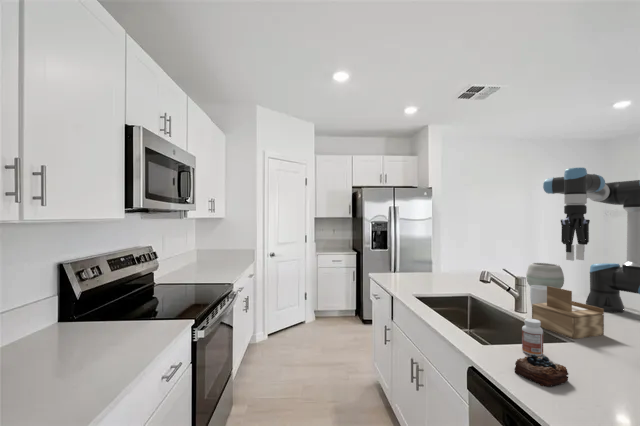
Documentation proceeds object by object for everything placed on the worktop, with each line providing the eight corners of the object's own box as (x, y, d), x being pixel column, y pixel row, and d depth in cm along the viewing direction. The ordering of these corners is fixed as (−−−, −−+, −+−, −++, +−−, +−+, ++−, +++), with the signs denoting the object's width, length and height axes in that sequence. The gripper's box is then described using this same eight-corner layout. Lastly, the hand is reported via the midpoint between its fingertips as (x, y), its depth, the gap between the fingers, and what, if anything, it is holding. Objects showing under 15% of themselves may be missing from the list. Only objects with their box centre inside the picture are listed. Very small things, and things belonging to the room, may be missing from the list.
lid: (559, 302, 150) (559, 282, 150) (603, 314, 133) (603, 291, 133) (531, 305, 146) (532, 284, 146) (573, 317, 128) (573, 293, 128)
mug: (537, 308, 170) (537, 283, 170) (563, 313, 161) (563, 286, 162) (526, 314, 161) (526, 286, 161) (553, 319, 152) (553, 291, 152)
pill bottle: (529, 347, 119) (529, 316, 119) (547, 354, 114) (547, 321, 114) (518, 350, 116) (518, 319, 116) (536, 357, 111) (536, 324, 111)
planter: (572, 312, 164) (572, 266, 164) (538, 312, 164) (539, 266, 164) (549, 303, 180) (550, 262, 180) (519, 303, 180) (519, 262, 181)
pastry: (549, 390, 90) (549, 368, 90) (508, 371, 101) (508, 352, 101) (573, 382, 95) (574, 362, 95) (532, 365, 106) (532, 346, 106)
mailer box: (559, 321, 150) (559, 303, 150) (603, 335, 133) (603, 314, 133) (531, 324, 146) (531, 305, 146) (573, 338, 128) (573, 318, 128)
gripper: (581, 205, 147) (581, 258, 147) (550, 204, 142) (550, 259, 142) (600, 204, 140) (600, 260, 140) (568, 204, 135) (567, 261, 135)
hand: (575, 259), depth 141 cm, fingers open, 5 cm apart
